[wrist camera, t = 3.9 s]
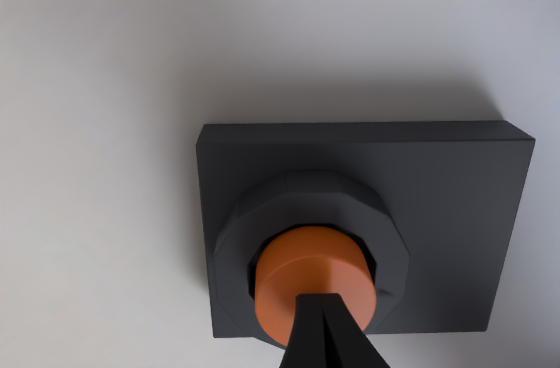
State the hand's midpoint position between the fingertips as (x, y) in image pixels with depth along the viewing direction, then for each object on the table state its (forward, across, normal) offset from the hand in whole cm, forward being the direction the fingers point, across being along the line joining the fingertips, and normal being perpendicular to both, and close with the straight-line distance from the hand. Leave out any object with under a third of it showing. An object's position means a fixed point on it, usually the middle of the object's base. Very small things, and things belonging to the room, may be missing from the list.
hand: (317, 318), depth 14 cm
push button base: (+6, -2, 0) cm, 6 cm away
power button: (+2, 0, 0) cm, 2 cm away
